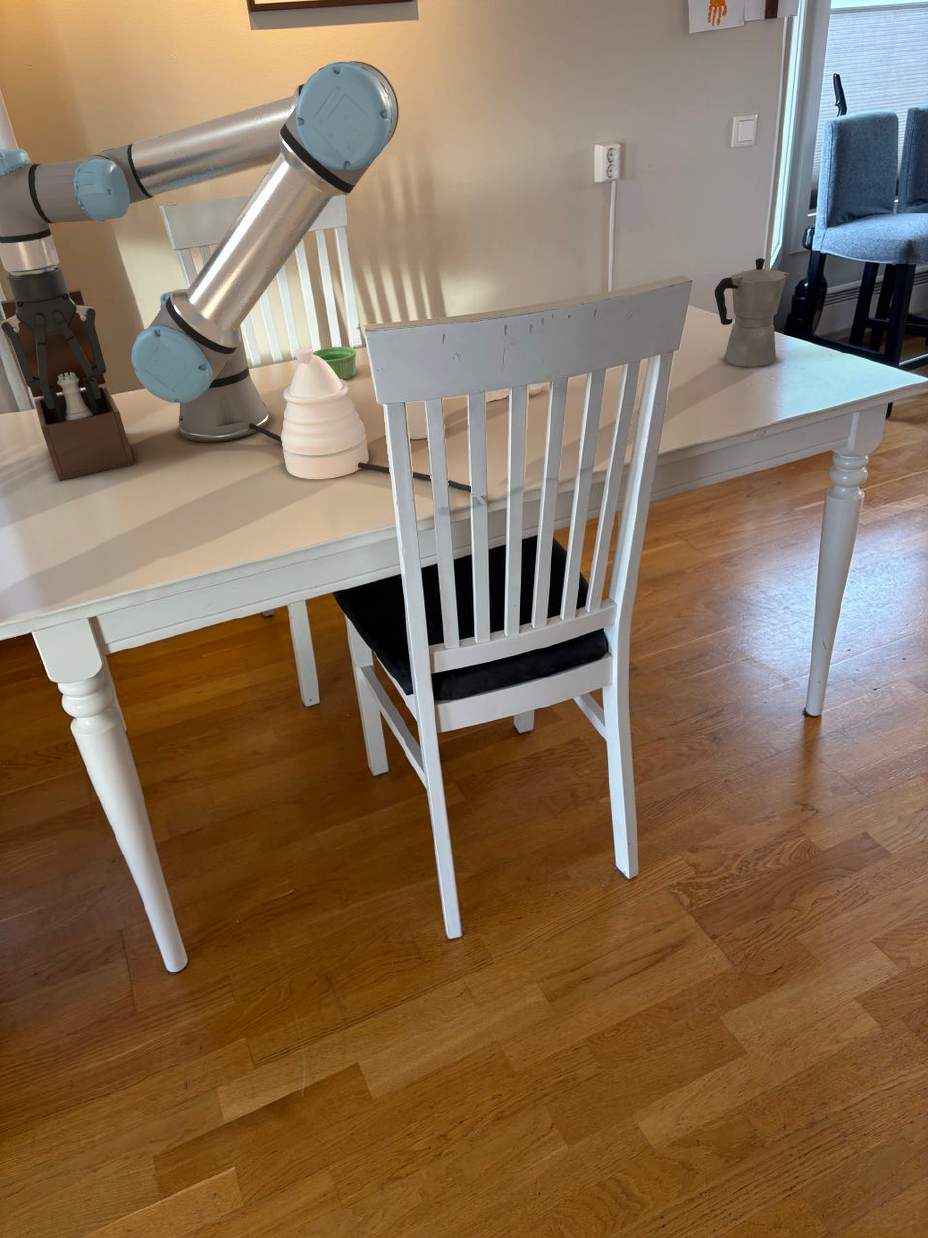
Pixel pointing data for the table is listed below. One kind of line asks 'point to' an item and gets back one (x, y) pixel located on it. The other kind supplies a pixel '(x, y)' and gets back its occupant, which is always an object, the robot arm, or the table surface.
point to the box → (85, 437)
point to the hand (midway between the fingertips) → (81, 422)
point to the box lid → (56, 348)
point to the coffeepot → (751, 314)
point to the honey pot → (321, 423)
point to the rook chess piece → (73, 397)
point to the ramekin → (339, 360)
